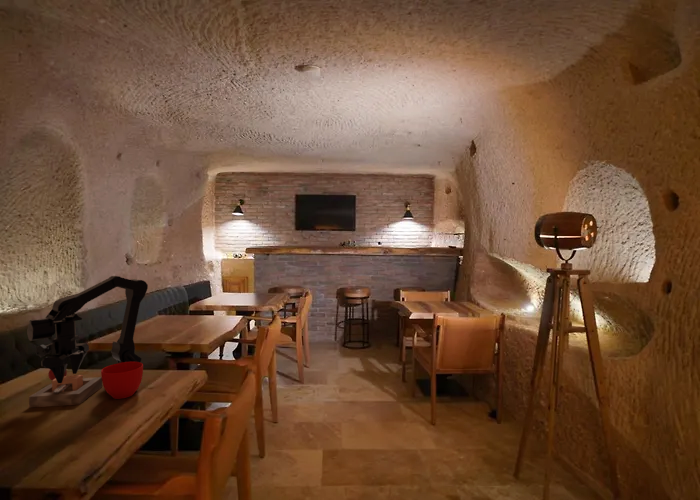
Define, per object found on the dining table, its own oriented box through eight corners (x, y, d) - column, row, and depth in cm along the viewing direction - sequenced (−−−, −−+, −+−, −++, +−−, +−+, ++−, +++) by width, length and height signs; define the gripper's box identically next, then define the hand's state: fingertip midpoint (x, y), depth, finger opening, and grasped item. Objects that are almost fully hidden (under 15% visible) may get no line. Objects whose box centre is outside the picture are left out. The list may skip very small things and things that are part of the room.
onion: (52, 381, 157) (51, 361, 156) (69, 379, 158) (68, 359, 158) (46, 386, 151) (45, 365, 151) (63, 384, 153) (63, 364, 153)
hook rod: (80, 379, 148) (80, 374, 148) (58, 393, 135) (58, 389, 134) (76, 379, 148) (75, 375, 148) (53, 394, 134) (53, 389, 134)
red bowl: (157, 384, 152) (156, 358, 152) (128, 403, 135) (127, 374, 135) (125, 383, 153) (124, 358, 153) (93, 402, 136) (92, 373, 136)
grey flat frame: (102, 386, 150) (102, 377, 150) (79, 404, 135) (79, 393, 134) (57, 389, 148) (57, 379, 148) (29, 407, 133) (28, 396, 132)
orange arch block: (83, 389, 144) (82, 374, 144) (77, 394, 140) (76, 378, 140) (59, 391, 143) (58, 376, 143) (52, 396, 139) (51, 380, 139)
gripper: (56, 329, 149) (58, 370, 149) (22, 342, 130) (24, 389, 131) (88, 328, 150) (90, 369, 151) (59, 341, 132) (61, 387, 132)
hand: (67, 378), depth 141 cm, fingers open, 9 cm apart
